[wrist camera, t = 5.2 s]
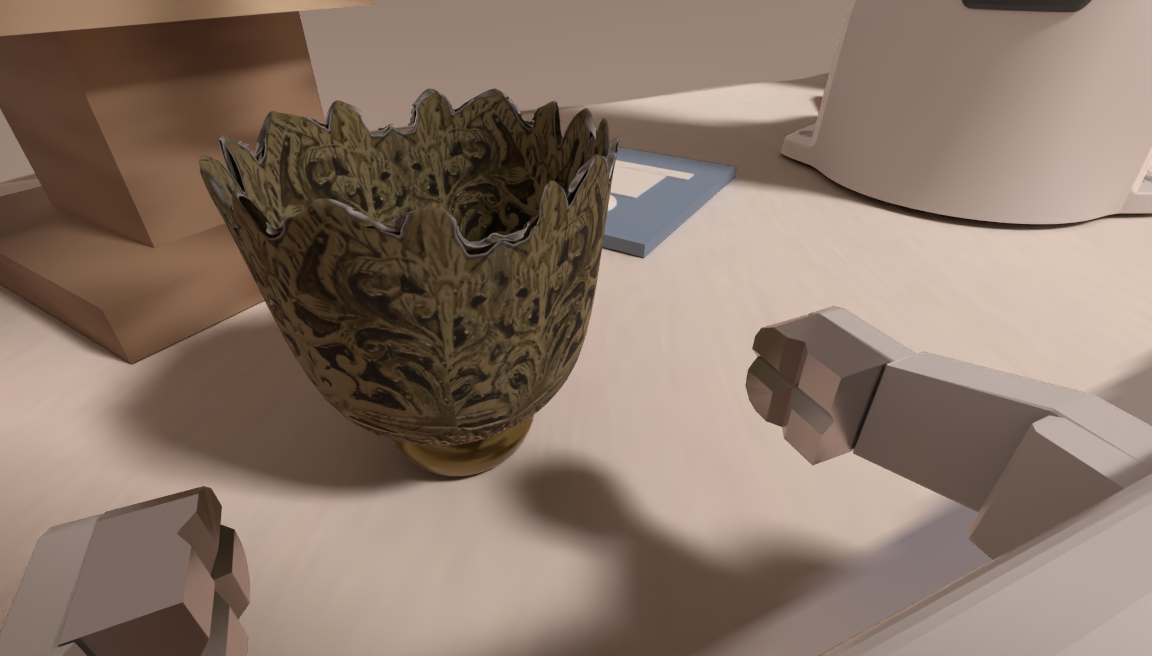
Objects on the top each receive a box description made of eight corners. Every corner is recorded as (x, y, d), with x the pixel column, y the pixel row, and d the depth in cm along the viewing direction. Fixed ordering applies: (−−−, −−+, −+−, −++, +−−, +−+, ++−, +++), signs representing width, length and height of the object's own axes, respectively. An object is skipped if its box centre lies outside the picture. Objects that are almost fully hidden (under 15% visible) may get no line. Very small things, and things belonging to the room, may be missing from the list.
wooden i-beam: (264, 168, 34) (202, -30, 28) (440, 215, 28) (406, -26, 22) (-40, 259, 24) (-228, -21, 18) (131, 363, 18) (-72, -8, 12)
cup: (332, 616, 11) (166, 235, 7) (306, 393, 17) (206, 105, 12) (659, 487, 14) (700, 153, 9) (542, 332, 19) (532, 77, 15)
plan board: (597, 152, 36) (597, 142, 36) (734, 177, 32) (736, 165, 32) (477, 214, 28) (476, 201, 27) (644, 257, 24) (644, 242, 23)
